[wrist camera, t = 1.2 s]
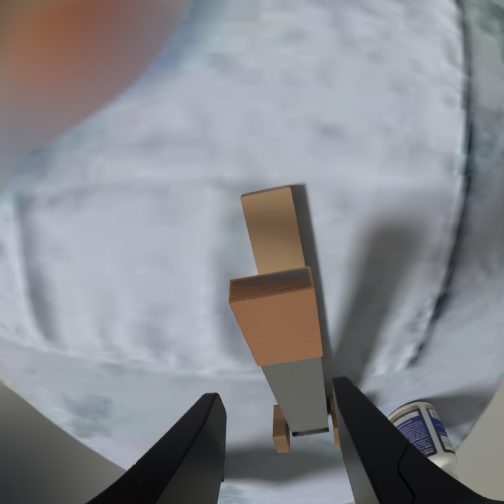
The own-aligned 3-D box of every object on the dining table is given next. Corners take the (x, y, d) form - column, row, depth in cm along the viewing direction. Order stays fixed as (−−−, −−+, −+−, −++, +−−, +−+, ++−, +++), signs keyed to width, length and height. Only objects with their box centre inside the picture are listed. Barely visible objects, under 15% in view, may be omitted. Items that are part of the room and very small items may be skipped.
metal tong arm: (328, 418, 24) (330, 433, 23) (291, 424, 25) (292, 438, 24) (309, 264, 13) (315, 290, 12) (230, 278, 13) (228, 305, 12)
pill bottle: (374, 439, 27) (392, 520, 18) (389, 402, 25) (417, 490, 16) (423, 433, 26) (449, 506, 17) (442, 395, 25) (478, 473, 15)
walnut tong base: (342, 413, 26) (347, 443, 22) (278, 422, 26) (277, 452, 23) (312, 180, 19) (319, 189, 16) (220, 199, 20) (208, 211, 17)
